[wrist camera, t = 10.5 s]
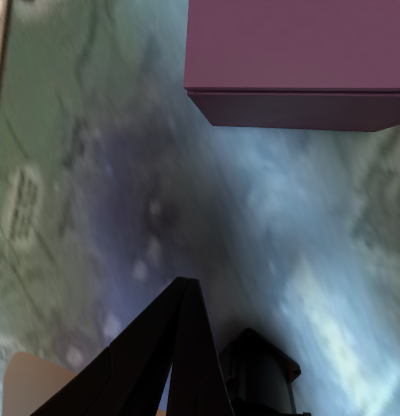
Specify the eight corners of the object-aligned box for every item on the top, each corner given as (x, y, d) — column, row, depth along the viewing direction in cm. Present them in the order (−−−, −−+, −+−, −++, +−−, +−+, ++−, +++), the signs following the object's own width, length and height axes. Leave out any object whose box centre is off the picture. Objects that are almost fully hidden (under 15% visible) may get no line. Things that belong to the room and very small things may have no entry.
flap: (499, 92, 9) (511, 88, 8) (185, 90, 11) (183, 87, 11) (543, -68, 8) (558, -80, 7) (193, -32, 10) (191, -40, 10)
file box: (375, 132, 17) (512, 90, 8) (212, 125, 20) (182, 88, 11) (410, -34, 15) (641, -325, 6) (223, -18, 18) (198, -208, 9)
